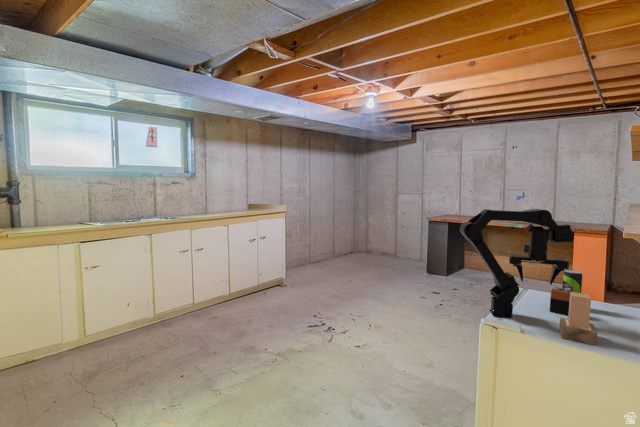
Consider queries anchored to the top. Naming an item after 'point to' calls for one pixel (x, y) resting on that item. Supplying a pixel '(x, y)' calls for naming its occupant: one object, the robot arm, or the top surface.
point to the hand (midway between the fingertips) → (536, 282)
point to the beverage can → (572, 280)
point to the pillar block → (579, 310)
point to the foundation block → (578, 332)
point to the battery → (560, 300)
